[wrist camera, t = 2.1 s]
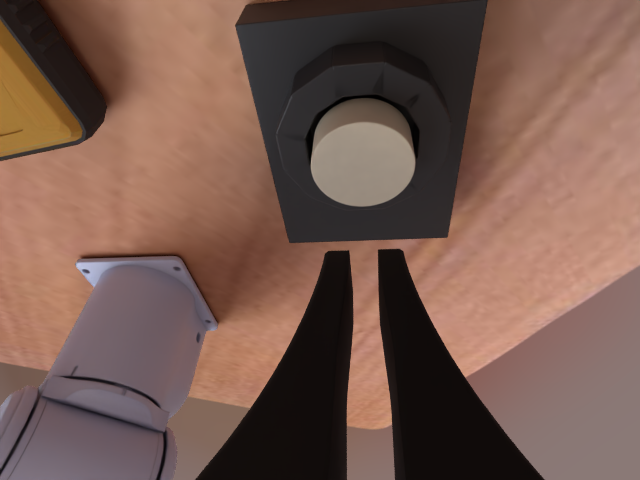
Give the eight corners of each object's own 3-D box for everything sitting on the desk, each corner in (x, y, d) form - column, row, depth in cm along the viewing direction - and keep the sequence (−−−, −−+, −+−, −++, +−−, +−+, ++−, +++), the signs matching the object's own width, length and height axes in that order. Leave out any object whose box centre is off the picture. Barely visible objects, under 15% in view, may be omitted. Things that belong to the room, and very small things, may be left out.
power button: (409, 178, 18) (412, 204, 17) (319, 182, 18) (316, 209, 17) (414, 93, 15) (419, 117, 14) (307, 101, 16) (303, 126, 14)
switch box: (441, 211, 24) (452, 262, 21) (293, 217, 25) (285, 267, 22) (475, -21, 15) (501, 17, 13) (245, 4, 16) (224, 44, 14)
